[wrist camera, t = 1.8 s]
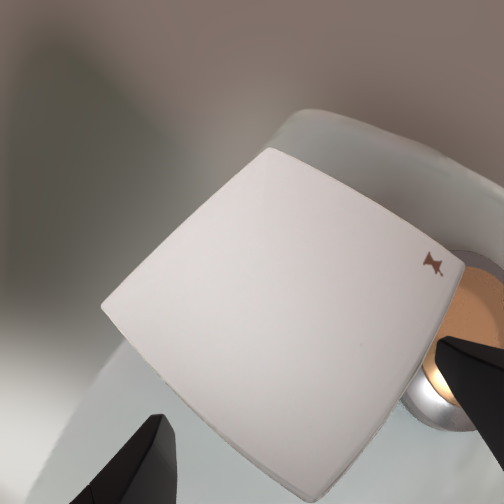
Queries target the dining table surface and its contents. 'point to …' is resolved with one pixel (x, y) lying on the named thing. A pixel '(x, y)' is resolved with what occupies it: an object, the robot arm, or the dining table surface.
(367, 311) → the supplement box
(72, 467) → the dining table surface
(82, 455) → the dining table surface
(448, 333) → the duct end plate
